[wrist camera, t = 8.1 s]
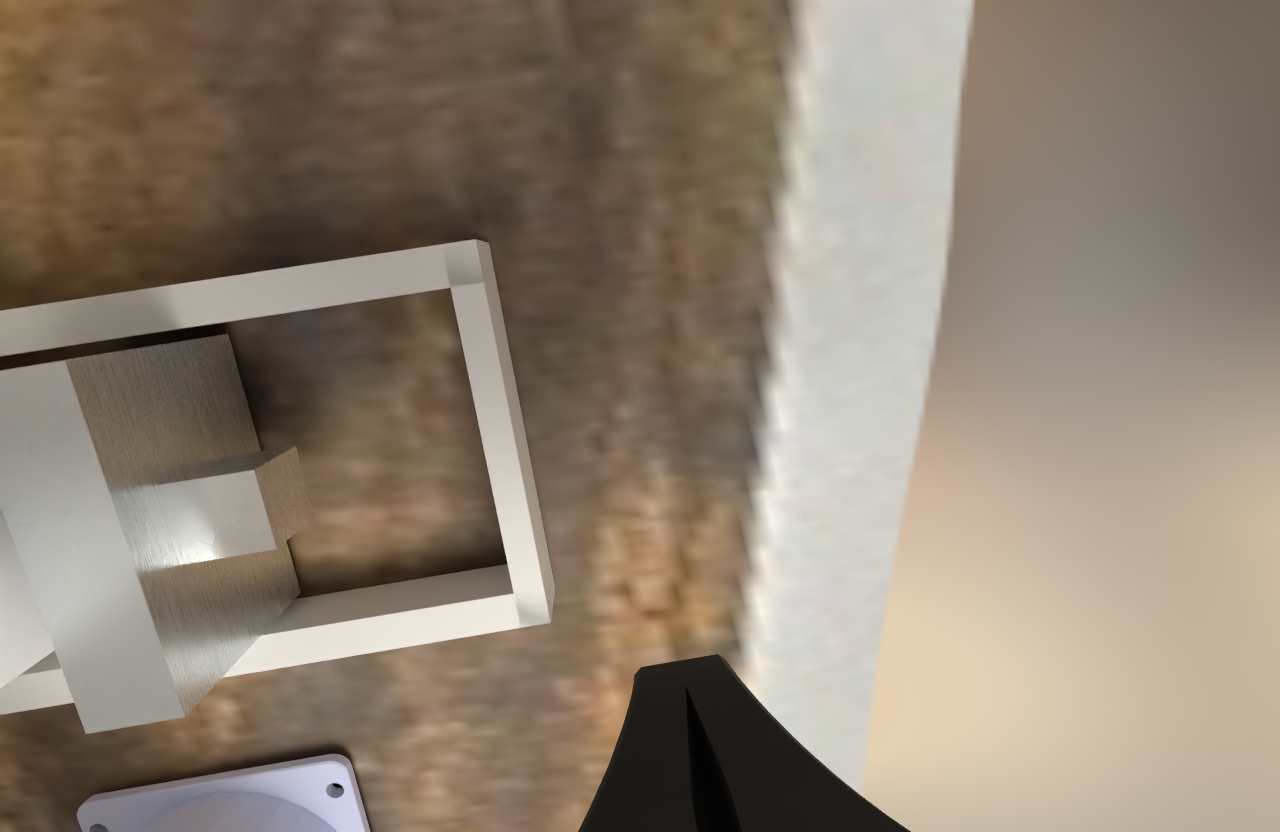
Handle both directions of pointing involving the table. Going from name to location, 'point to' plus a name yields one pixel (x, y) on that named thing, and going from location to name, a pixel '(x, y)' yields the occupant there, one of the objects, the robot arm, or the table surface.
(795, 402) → the table surface
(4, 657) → the can
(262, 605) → the sliding jaw
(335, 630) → the grey open tray
